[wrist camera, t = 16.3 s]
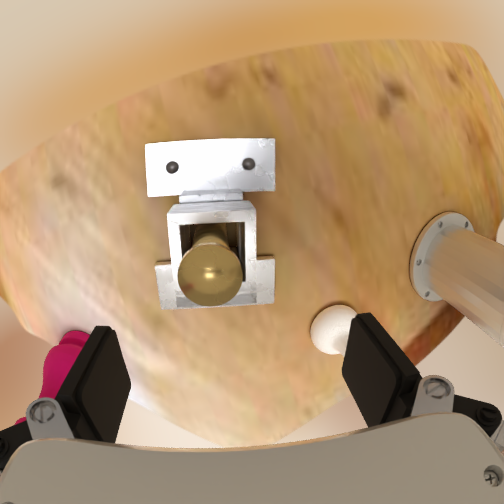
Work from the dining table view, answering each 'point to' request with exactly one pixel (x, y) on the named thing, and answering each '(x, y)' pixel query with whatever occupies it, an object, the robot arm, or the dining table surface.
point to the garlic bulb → (332, 329)
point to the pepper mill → (60, 363)
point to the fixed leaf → (210, 171)
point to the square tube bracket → (253, 268)
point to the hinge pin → (210, 267)
